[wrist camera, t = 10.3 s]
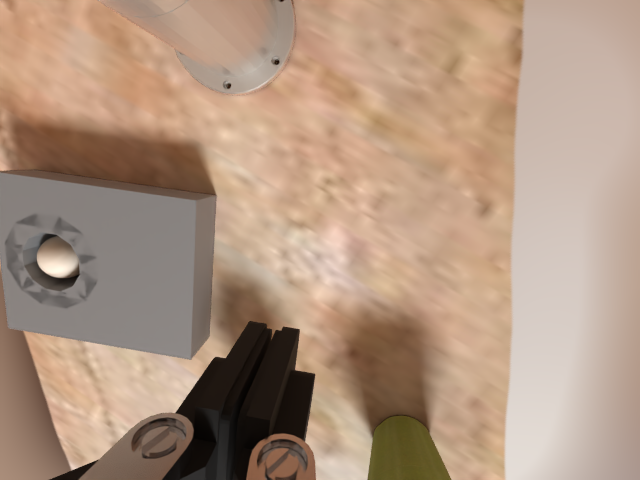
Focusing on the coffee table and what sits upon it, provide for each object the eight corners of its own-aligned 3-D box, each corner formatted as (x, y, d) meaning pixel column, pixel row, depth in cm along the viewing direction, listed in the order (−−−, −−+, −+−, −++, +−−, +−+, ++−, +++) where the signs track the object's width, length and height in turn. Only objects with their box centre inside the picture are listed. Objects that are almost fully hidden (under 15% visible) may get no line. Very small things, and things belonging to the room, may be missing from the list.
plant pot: (338, 418, 43) (333, 505, 32) (423, 385, 41) (449, 467, 30) (379, 486, 45) (388, 590, 34) (463, 458, 43) (501, 560, 32)
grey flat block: (35, 169, 39) (-10, 171, 34) (216, 195, 38) (196, 200, 33) (46, 309, 43) (8, 328, 39) (209, 336, 42) (190, 359, 37)
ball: (81, 224, 38) (107, 252, 42) (42, 227, 39) (71, 254, 42) (57, 258, 35) (87, 285, 38) (14, 261, 35) (48, 287, 39)
